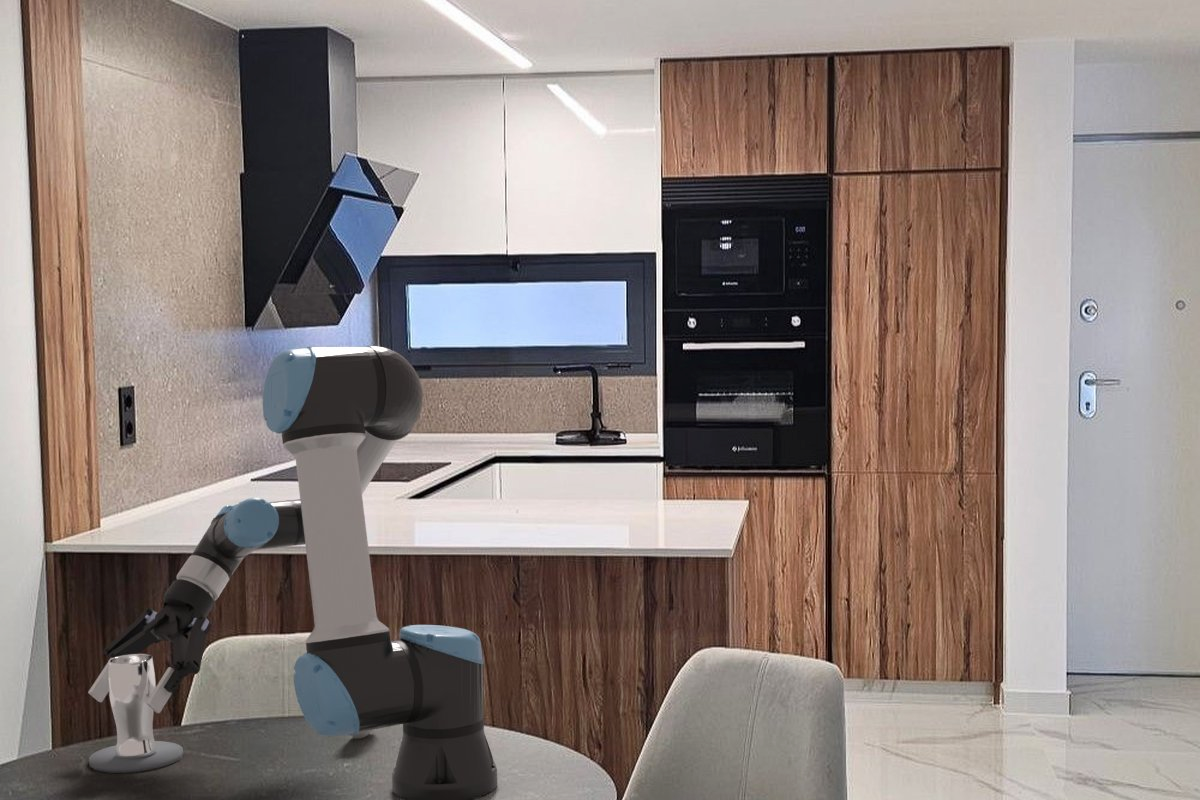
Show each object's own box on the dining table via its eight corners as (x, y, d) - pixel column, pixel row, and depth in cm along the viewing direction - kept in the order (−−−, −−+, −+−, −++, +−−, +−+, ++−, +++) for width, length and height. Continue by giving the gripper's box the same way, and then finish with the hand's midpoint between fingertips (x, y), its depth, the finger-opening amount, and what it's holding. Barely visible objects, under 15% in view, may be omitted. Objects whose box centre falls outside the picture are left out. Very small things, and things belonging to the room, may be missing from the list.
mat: (200, 757, 228) (200, 752, 228) (117, 778, 218) (117, 773, 218) (154, 740, 238) (153, 736, 238) (72, 760, 228) (72, 755, 228)
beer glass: (146, 760, 224) (140, 664, 223) (104, 759, 225) (98, 664, 224) (167, 746, 231) (161, 653, 230) (126, 746, 232) (120, 653, 231)
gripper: (262, 610, 233) (192, 726, 221) (157, 597, 247) (86, 705, 235) (236, 583, 228) (163, 699, 217) (130, 571, 242) (56, 680, 230)
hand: (123, 703), depth 226 cm, fingers open, 13 cm apart
